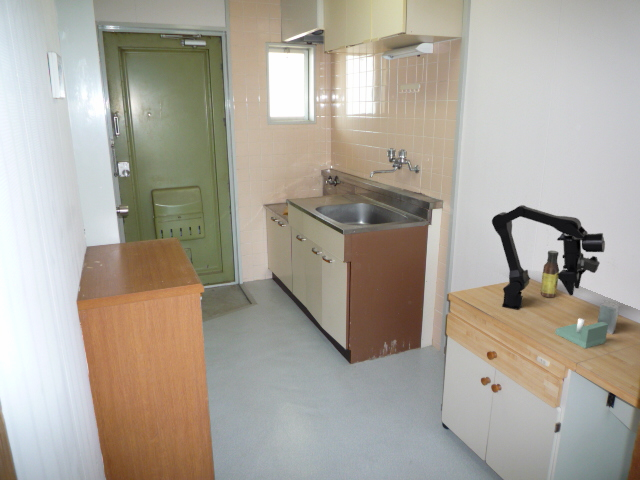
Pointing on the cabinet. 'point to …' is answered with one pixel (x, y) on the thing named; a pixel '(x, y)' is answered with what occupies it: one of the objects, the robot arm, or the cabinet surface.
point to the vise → (584, 333)
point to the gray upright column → (609, 315)
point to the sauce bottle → (550, 275)
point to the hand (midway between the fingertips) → (574, 291)
